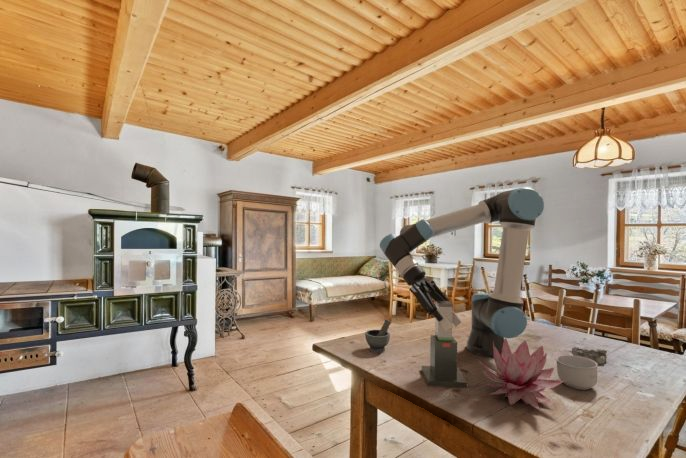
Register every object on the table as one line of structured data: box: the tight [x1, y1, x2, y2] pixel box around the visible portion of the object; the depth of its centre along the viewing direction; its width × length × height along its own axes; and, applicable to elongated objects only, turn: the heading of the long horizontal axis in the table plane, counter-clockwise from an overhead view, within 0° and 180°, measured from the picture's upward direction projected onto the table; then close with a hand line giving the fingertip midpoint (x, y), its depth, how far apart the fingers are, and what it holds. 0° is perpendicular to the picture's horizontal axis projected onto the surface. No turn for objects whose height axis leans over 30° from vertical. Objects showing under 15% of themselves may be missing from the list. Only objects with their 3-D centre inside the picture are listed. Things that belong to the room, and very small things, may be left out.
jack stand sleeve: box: [420, 334, 468, 388], centre depth 111 cm, size 12×12×13 cm
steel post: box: [434, 300, 454, 341], centre depth 111 cm, size 4×4×20 cm
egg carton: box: [571, 346, 608, 365], centre depth 129 cm, size 11×8×4 cm
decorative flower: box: [479, 338, 564, 409], centre depth 98 cm, size 21×21×15 cm
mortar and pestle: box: [364, 318, 392, 354], centre depth 136 cm, size 11×9×12 cm
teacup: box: [555, 353, 599, 391], centre depth 108 cm, size 14×11×8 cm
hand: (454, 326), depth 108 cm, fingers closed on steel post, 6 cm apart
